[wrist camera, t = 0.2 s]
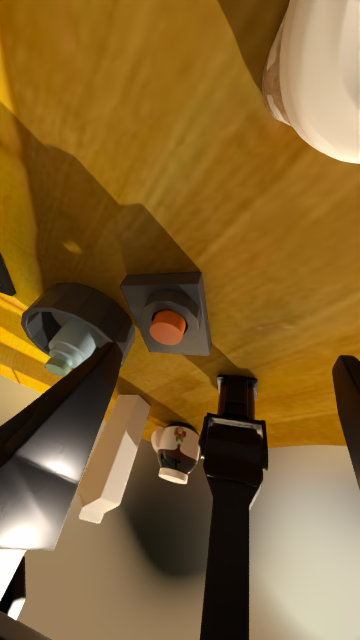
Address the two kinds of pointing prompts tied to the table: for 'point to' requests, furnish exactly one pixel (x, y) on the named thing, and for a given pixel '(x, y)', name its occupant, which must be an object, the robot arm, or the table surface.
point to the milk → (112, 458)
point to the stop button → (168, 327)
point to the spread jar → (176, 451)
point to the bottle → (71, 346)
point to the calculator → (5, 280)
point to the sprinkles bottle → (318, 75)
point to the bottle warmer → (77, 316)
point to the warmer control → (170, 308)
